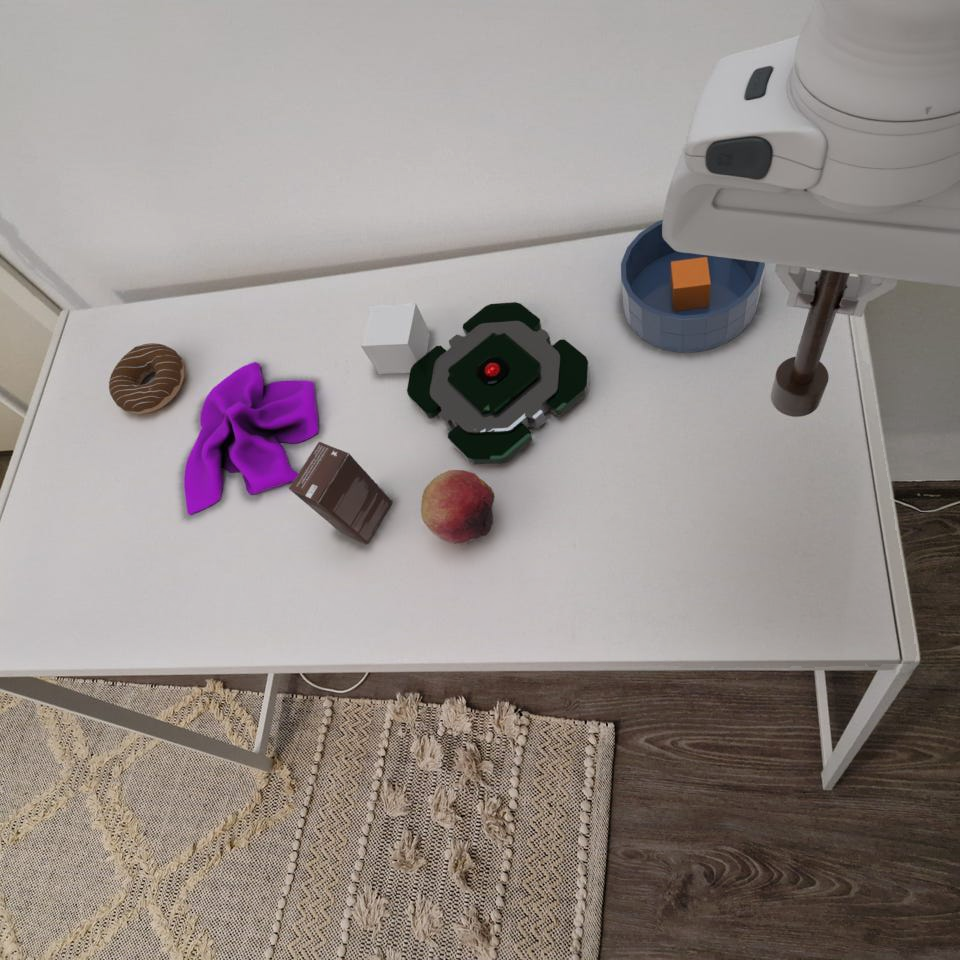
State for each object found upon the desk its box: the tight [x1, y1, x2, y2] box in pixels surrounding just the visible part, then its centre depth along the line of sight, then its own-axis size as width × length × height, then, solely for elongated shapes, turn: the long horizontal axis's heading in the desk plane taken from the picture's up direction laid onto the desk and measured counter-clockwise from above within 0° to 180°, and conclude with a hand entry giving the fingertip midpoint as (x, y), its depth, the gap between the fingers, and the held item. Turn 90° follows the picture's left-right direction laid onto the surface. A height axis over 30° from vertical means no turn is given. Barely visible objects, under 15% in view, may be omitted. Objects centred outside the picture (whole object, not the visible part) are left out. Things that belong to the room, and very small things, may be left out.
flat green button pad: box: [406, 301, 590, 465], centre depth 82 cm, size 18×18×5 cm
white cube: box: [360, 302, 431, 375], centre depth 87 cm, size 6×6×6 cm
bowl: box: [620, 219, 766, 353], centre depth 81 cm, size 15×15×6 cm
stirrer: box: [770, 270, 851, 418], centre depth 48 cm, size 4×4×15 cm
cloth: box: [183, 361, 319, 516], centre depth 87 cm, size 22×19×6 cm
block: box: [671, 257, 711, 311], centre depth 81 cm, size 4×4×4 cm
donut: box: [108, 342, 185, 414], centre depth 96 cm, size 11×11×4 cm
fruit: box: [420, 469, 495, 546], centre depth 74 cm, size 8×8×8 cm
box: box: [288, 441, 393, 545], centre depth 75 cm, size 6×4×12 cm
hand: (824, 303), depth 45 cm, fingers closed on stirrer, 2 cm apart
